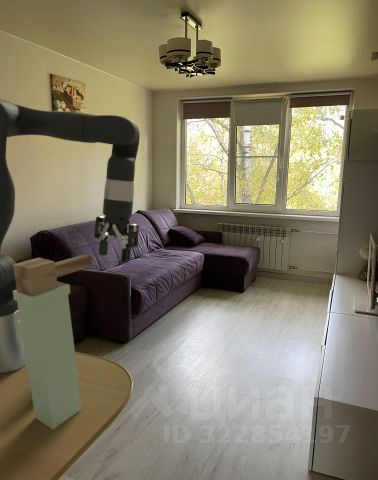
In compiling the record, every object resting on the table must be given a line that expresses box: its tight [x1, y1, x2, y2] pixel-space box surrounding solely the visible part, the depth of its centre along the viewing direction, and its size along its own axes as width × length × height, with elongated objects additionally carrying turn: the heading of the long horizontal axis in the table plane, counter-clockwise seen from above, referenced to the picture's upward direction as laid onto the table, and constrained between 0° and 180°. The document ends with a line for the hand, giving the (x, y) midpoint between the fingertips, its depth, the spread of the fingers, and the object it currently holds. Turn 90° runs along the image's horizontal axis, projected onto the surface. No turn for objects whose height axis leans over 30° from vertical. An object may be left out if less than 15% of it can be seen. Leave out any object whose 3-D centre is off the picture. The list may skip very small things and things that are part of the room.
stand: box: [13, 280, 83, 430], centre depth 85 cm, size 8×9×32 cm
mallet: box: [13, 254, 93, 296], centre depth 84 cm, size 6×17×6 cm, turn 143°
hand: (113, 258), depth 98 cm, fingers open, 8 cm apart
